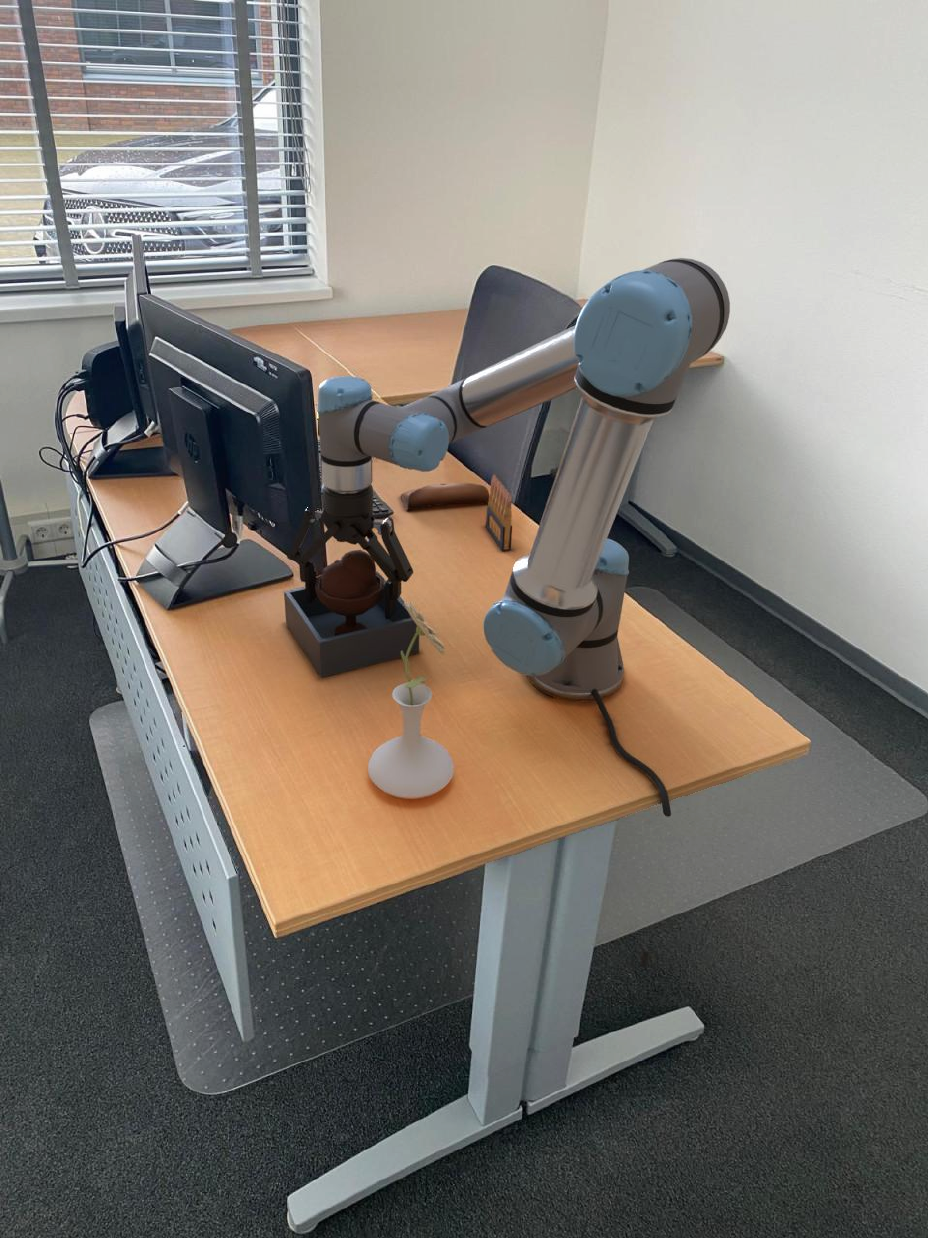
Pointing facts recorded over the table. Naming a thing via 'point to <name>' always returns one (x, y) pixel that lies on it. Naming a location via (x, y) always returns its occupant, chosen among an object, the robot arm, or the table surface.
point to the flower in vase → (412, 737)
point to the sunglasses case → (444, 495)
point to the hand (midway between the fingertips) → (350, 607)
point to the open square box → (348, 634)
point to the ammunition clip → (499, 515)
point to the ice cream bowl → (350, 588)
